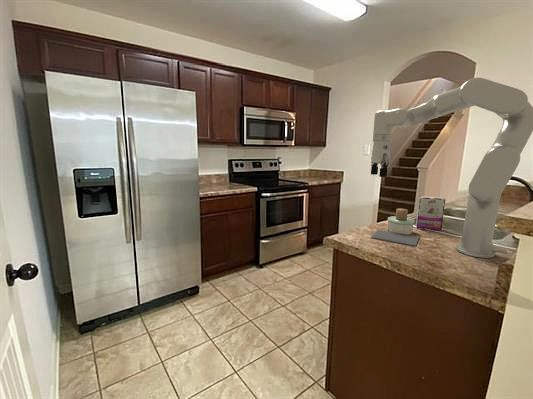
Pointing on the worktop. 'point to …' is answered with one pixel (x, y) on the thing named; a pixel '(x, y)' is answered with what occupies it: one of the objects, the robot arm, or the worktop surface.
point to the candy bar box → (430, 212)
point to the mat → (396, 238)
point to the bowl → (400, 228)
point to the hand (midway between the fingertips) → (378, 175)
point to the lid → (401, 218)
